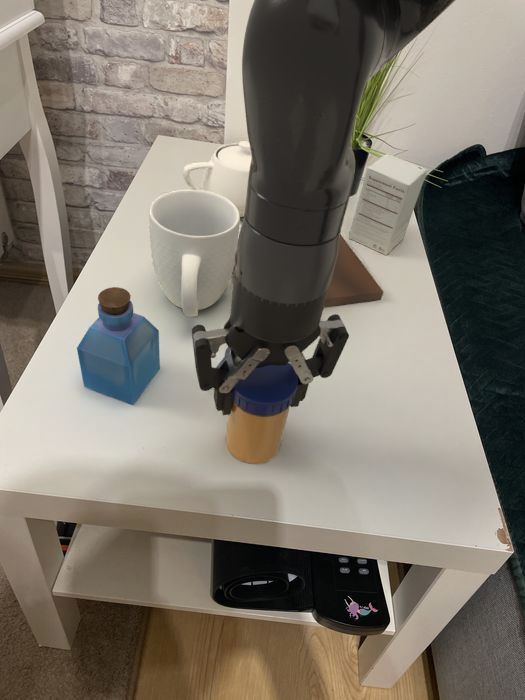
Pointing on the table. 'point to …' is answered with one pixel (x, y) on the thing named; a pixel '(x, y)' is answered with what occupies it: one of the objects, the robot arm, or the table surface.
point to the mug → (193, 246)
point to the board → (349, 280)
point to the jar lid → (267, 390)
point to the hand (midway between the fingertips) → (258, 403)
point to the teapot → (225, 173)
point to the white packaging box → (386, 203)
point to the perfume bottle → (119, 349)
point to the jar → (254, 435)
